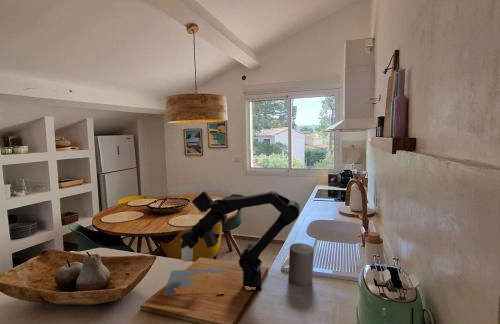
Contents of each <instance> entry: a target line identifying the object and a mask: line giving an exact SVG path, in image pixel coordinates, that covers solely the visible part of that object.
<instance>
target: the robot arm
mask: <svg viewBox="0 0 500 324" xmlns="http://www.w3.org/2000/svg"><path fill="white" fill-rule="evenodd" d="M191 204H193V205H194V207H195V208H196V209H197V211H199V213H206V214H205V215H204V216H203V217H201V218H200V219H199V220H198V221H197V222H196V223H195V224H194V225H193V226H192V228H191V230H185V232H183V233H182V234H181V235H180V239H182V241H181V244H180V248H181V249H182V248H184V247H186V246H188V247H189V248H191V249H192V248H193V249H194V247H195V246H196V245H197V244H198V243H199V238H200V239H201V240H204V243H205V245H206V248H207V249H209V248H212V247H216V245H217V244H218V243H219V237H220V236H221V234H220V232H218V231H215V230H213V229H214V228H215V226H216V225H218V223H220V222H222V224H226V223H227V222H228V214H231V213H233V212H236V211H238V210H240V209H245V208H250V207H251V208H252V207H257V206H262V205H269V204H270V205H272V206H273V207H274V208H275V209H276V210H277V211H278V212H279V215H278V216H277V219H275V220H274V222H273V223H272V224H271V225H270V226H269V227H268V229H267V230H266V231H265V232H264V233H263V234H262V235H261V236H260V238H259V239H258V240H256V242H255V243H254V244H251V243H248V245H247V246H246V247H245V248H244V249H242V251H241V253H240V255H239V259H238V265H239V267H240V268H241V269H242V272H243V273H242V286H243V285H244V286H249V287H256V290H255V291H262V290H263V287H262V271H261V267H262V264H263V261H262V260H261V258H260V255H261V254H262V253H263V251H264V250H265V249H266V248H267V247H268V246H269V245H270V243H271V242H272V241H273V240H274V239H275V238H276V237H277V236H278V235H279V233H281V231H282V230H283V229H284V228H285V227H287V226H289V225H290V224H292V223H293V222H295V221H296V220H297V219H298V217H299V216H300V212H301V206H300V205H299V203H298V202H297V201H295V200H290V199H289V198H287V197H286V196H283V195H281V194H279V193H278V192H277V191H275V190H271V191H268V192H262V193H257V194H252V195H246V196H236V195H235V196H234V195H233V196H232V195H231V196H230V195H229V196H224V197H223V198H222V199H221V198H220V199H218V198H217V199H215V200H213V199H212V198H211V197H210V195H208V193H207V192H206V190H204V191H202V192H201V193H200V194H198V196H196V197H195V198H194V199H193V200H192V201H191ZM244 286H243V287H244Z"/></svg>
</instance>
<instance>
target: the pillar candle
mask: <svg viewBox="0 0 500 324" xmlns="http://www.w3.org/2000/svg"><path fill="white" fill-rule="evenodd" d="M314 250H315V249H314V246H312V245H310V244H307V243H302V242H301V243H300V242H298V243H297V242H296V243H292V244H291V245H290V246H289V254H288V255H289V258H288V259H289V262H288V264H289V266H288V281H289V282H290V283H291V284H293V285H294V286H298V287H307V286H310V285H311V284H312V283H313V276H314V274H313V272H314V252H315V251H314Z"/></svg>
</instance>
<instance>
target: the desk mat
mask: <svg viewBox="0 0 500 324" xmlns="http://www.w3.org/2000/svg"><path fill="white" fill-rule="evenodd" d="M203 271H204V272H205V273H206V272H207V273H208V272H209V273H210V272H211V274H212V273H213V274H214V273H220V272H223V271H224V272H225V268H210V269H209V268H208V269H207V268H206V269H184V270H183V269H182V270H180V269H179V270H177V269H176V270H171V273H170V276H169V278H168V281H167V283H166V286H165V289H164V291H163V294H165V295H164V296H168V295H169V296H180V295H179V294H178V295H177V294H175V293H176V291H175V290H174V288H177V289H178V290H179V286H181V287H182V288H183V287H188V286H192V284H191V282H195V281H193V280H192V281H190V280H189V279H188V278H183V277H188V276H191V275H193V274H194V276H195V274H200V272H201V273H202V272H203ZM196 284H197V283H196ZM193 285H194V286H195V284H194V283H193ZM185 290H186V289H185ZM185 290H184V291H185ZM181 291H182V290H181ZM181 291H180V292H181Z"/></svg>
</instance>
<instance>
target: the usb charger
mask: <svg viewBox="0 0 500 324" xmlns="http://www.w3.org/2000/svg"><path fill="white" fill-rule="evenodd" d="M180 239H181V238H180ZM181 242H182V239H181ZM193 250H194V247H193V248H192V249H191V248H189V247H188V246H186V247H184V248H181V261H182V262H185V263H187V262H191V261H193V258H194V251H193Z"/></svg>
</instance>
